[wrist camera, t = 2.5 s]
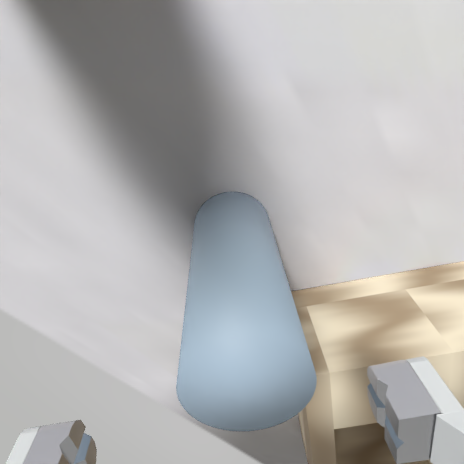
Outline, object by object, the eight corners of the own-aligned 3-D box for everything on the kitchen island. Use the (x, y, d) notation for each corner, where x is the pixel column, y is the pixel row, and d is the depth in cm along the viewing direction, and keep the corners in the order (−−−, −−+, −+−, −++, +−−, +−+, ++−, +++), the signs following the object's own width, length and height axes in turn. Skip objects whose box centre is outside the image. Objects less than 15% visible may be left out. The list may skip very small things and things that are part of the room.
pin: (263, 185, 18) (311, 325, 9) (273, 251, 20) (321, 420, 11) (186, 199, 18) (159, 350, 9) (203, 263, 20) (194, 440, 11)
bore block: (519, 251, 20) (625, 324, 15) (482, 404, 27) (546, 491, 22) (280, 293, 21) (301, 377, 16) (301, 431, 28) (321, 523, 22)
